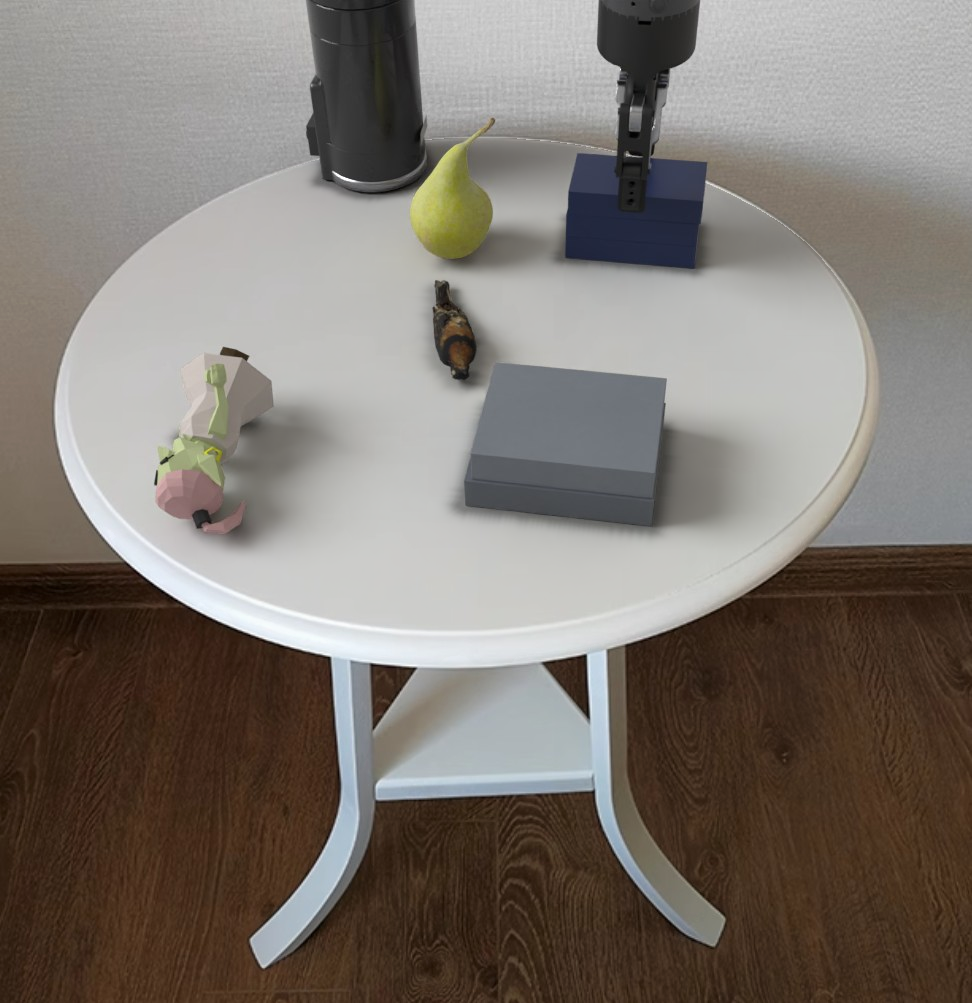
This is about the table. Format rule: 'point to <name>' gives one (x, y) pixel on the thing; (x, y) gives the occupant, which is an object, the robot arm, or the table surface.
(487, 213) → the fruit
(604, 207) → the navy book
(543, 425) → the grey stack
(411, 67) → the robot arm
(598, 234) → the navy stack
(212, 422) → the figurine
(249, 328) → the table surface
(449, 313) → the bird model
